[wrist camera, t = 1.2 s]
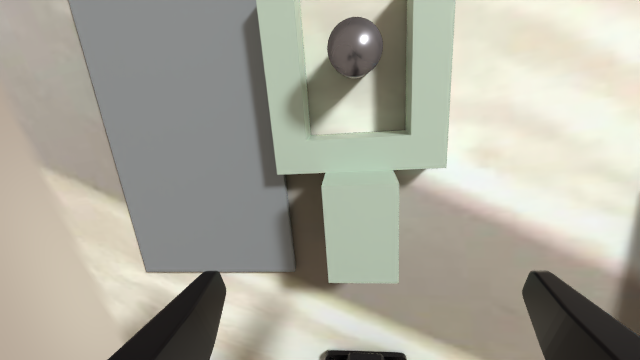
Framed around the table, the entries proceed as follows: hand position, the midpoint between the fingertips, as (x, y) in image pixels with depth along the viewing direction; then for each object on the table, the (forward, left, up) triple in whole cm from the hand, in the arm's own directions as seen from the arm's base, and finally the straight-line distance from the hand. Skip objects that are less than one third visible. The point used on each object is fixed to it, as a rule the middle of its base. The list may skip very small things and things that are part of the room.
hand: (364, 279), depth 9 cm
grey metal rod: (+7, 0, -12) cm, 14 cm away
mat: (+3, +11, -12) cm, 16 cm away
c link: (+3, 0, -12) cm, 12 cm away
